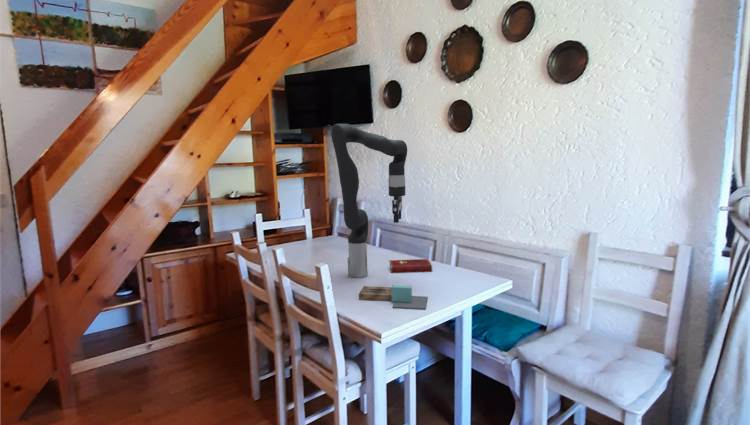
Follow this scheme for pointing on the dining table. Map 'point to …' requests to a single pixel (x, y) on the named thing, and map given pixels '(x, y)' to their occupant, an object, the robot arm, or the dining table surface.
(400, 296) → the teal rectangular prism
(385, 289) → the brown wooden frame
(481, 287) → the dining table surface
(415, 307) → the mat
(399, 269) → the hardcover book
